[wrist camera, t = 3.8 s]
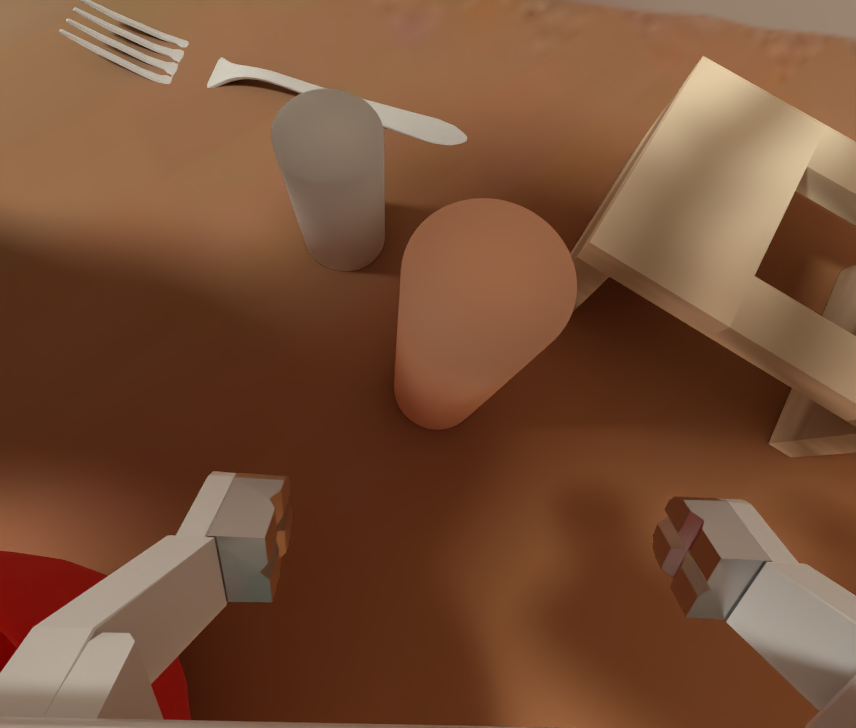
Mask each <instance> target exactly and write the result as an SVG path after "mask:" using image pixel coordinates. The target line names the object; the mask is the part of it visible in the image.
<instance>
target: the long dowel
mask: <svg viewBox="0 0 856 728" xmlns="http://www.w3.org/2000/svg"><path fill="white" fill-rule="evenodd" d="M576 296H577V278H576V271H575V267H574V263H573V260H572V257H571V255H570V252H569V250H568V249H567V247H566V245H565V243H564V242H563V240H562V239H561V237H560V236H559V235H558V233H557V232H556V231H555V230H554V229H553V228H552V227H551V226H550V225H549V224H548V223H547V222H546V221H545V220H543V219H542V218H541V217H539V216H538V215H536V214H535V213H534V212H532V211H530V210H528V209H526V208H524V207H522V206H520V205H517V204H514V203H511V202H508V201H504V200H499V199H492V198H475V199H467V200H462V201H458V202H455V203H452V204H449V205H447V206H445V207H443V208H441V209H439V210H437V211H436V212H434V213H433V214H431V215H430V216H429V217H428V218H427V219H425V220H424V221H423V222H422V223H421V224H420V225H419V227H418V228H417V229H416V230H415V232H414V233H413V235H412V236H411V238H410V240H409V242H408V244H407V246H406V248H405V252H404V255H403V259H402V266H401V277H400V293H399V309H398V325H397V342H396V358H395V374H394V394H395V398H396V401H397V404H398V406H399V408H400V409H401V411H402V412H403V414H404V415H405V416H406V417H407V418H408V419H409V420H411V421H412V422H413V423H415V424H417V425H419V426H421V427H424V428H427V429H434V430H441V429H447V428H451V427H454V426H456V425H458V424H459V423H461V422H462V421H464V420H465V419H466V418H467V417H468V416H470V415H471V414H472V413H473V412H474V411H475V410H476V409H477V408H479V407H480V406H481V405H482V404H483V403H484V402H485V401H486V400H488V399H489V398H490V397H491V396H492V395H493V394H494V393H495V392H497V391H498V390H499V389H500V388H501V387H502V386H503V385H504V384H506V383H507V382H508V381H509V380H510V379H511V378H512V377H513V376H515V375H516V374H517V373H518V372H519V371H520V370H521V369H522V368H524V367H525V366H526V365H527V364H528V363H529V362H530V361H531V360H533V359H534V358H535V357H536V356H537V355H538V354H539V353H540V352H542V351H543V350H544V349H545V348H546V347H547V346H548V345H549V344H550V343H552V342H553V341H554V340H555V339H556V338H557V336H558V335H559V334H560V333H561V332H562V330H563V329H564V328H565V326H566V325H567V323H568V321H569V319H570V317H571V315H572V312H573V309H574V306H575V301H576Z"/></svg>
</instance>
